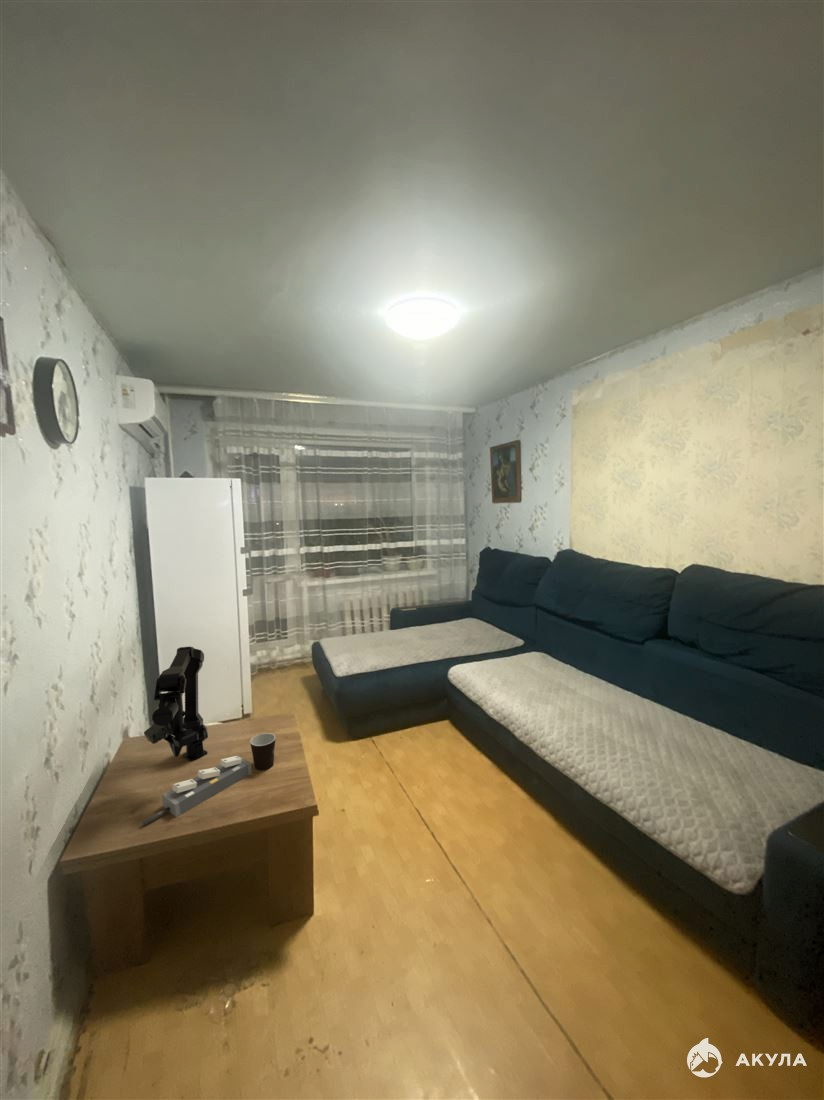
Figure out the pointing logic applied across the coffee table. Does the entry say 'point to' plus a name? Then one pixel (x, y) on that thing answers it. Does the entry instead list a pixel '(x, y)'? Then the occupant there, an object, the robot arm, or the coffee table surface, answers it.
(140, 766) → the coffee table surface
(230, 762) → the block
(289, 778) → the coffee table surface
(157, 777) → the coffee table surface
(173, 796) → the power strip
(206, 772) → the block
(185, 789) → the white rectangular block
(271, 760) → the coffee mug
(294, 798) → the coffee table surface
